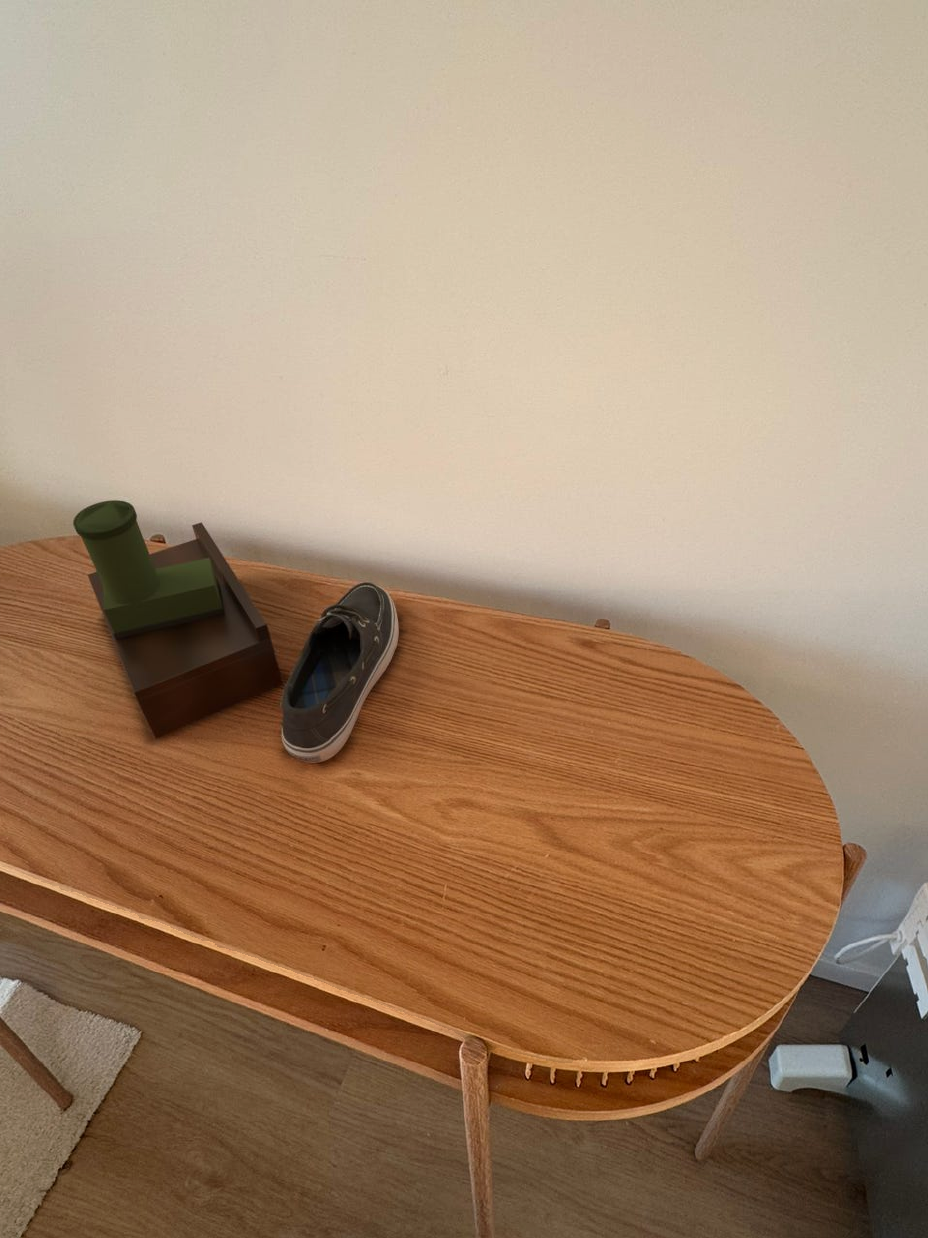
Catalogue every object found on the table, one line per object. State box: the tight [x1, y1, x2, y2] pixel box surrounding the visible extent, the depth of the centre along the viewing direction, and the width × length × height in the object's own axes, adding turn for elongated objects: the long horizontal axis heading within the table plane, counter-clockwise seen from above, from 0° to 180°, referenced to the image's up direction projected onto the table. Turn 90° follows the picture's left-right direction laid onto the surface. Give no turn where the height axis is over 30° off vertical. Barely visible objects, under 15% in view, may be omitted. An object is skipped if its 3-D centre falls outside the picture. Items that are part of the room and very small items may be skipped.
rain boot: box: [72, 499, 224, 639], centre depth 75 cm, size 11×6×13 cm, turn 110°
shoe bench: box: [87, 521, 284, 739], centre depth 82 cm, size 14×22×9 cm, turn 32°
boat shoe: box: [279, 582, 400, 764], centre depth 79 cm, size 26×9×8 cm, turn 165°
